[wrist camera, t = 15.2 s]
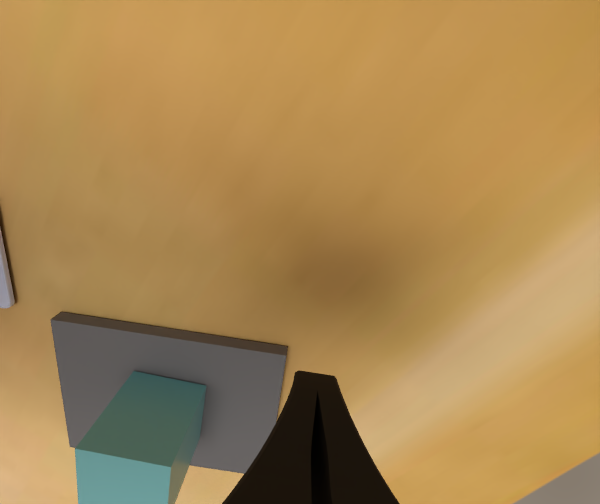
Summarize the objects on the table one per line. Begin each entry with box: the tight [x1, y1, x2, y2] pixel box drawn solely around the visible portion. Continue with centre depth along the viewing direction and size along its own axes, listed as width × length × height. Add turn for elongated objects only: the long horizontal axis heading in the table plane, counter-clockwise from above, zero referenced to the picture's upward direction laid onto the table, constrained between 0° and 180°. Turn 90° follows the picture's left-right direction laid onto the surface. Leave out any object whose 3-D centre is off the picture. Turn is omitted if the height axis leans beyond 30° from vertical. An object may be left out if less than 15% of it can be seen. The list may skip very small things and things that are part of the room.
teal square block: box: [75, 371, 206, 504], centre depth 22 cm, size 5×5×6 cm
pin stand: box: [51, 312, 288, 474], centre depth 22 cm, size 16×12×6 cm
